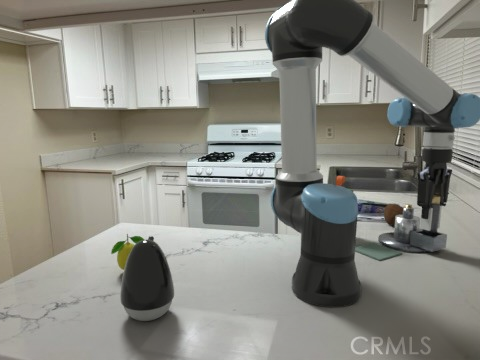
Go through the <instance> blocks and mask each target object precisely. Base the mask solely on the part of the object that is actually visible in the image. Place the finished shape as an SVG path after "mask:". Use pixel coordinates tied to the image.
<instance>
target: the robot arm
mask: <svg viewBox="0 0 480 360" xmlns="http://www.w3.org/2000/svg"><path fill="white" fill-rule="evenodd" d="M264 41H265V44H266V47H267V49H268V50H269V51H270V53H271V54H272V55H271V57H272V65H273V66H274V68H275V69H277V71H278V73H279V74H278V77H279V103H280V105H279V108H280V112H279V113H280V140H281V141H280V142H281V143H280V147H281V170H280V172H279V173H278V174H277V175H276V177H275V186H274V188H273V189H272V191H271V195H270V207H271V210H272V212H273V214H274V215H275V217H276V218H277V219H278V220H279V221H280V222H282V223H283V224H284V225H285V226H288V227H290V228H291V229H292V230H294V231H296V232H297V233H299V234H300V255H299V259H298V262H297V264H296V268H295V272H294V273H293V274H292V278H291V291H292V293H293V294H294V295H295V296H296V297H297V298H299V299H300V300H302V301H304V302H307V303H308V304H313V305H315V306H320V307H326V308H327V307H329V308H341V307H342V308H343V307H347V306H350V305H354V304H355V303H357V302H359V300H360V299H361V296H362V283H361V280H360V279H359V274H358V271H357V270H358V269H357V266H356V262H355V255H356V252H355V247H356V240H357V238H356V237H357V226H358V215H359V206H358V198H357V195H356V193H355V192H352V191H351V190H352V189H351V190H349V189H350V188H346V187H345V186H343V185H342V186H335V185H336V184H335V185H334V184H332V183H325V182H324V175H323V174H322V173H321V172H320V171H319V170H318V167H317V164H318V163H317V154H318V153H317V74H316V73H317V67H318V66H319V65H320V64H321V63H322V62H323V48H324V49H329V50H331V51H333V52H334V53H336V54H337V55H338V56H340V57H344V56H348V57H350V58H351V59H353V60H354V61H355V62H357V64H360V65H361V66H362V67H364V68H365V69H366V70H367V71H369V72H370V73H371V74H373V75H374V76H375V77H377V78H378V79H379V80H381V81H382V82H384V83H385V84H386V85H388V86H389V87H390V88H391V89H393V90H394V91H395V92H397V93H398V94H400V95H401V97H397V98H394V99H393V100H391V102H390V103H389V105H388V108H387V112H386V113H387V114H386V116H387V120H388V122H389V124H390V125H392V126H394V127H400V128H406V127H407V128H408V127H413V128H414V127H415V128H420V127H421V128H423V138H422V146H423V147H424V148H422V151H421V161H423V162H425V164H424V168H423V170H422V171H418V172H417V178H418V179H417V181H418V182H417V197H416V204H417V206H418V207H421V215H420V229H424V230H428V231H430V230H431V222H432V212H433V208H431V204H432V199H433V195H437V196H440V209H439V219H438V229H440V227H441V217H442V207H446V206H447V202H448V199H449V197H448V196H449V189H450V181H451V176H452V174H453V169H450V168H448V165H447V164H449V163H452V161H453V149H452V147H454V142H455V141H454V140H455V139H456V137H455V132H456V130H455V129H459V128H460V129H461V128H464V129H465V128H470V127H474V126H475V125H477V124H478V122H479V121H480V96H479V95H477V94H474V93H465V92H464V93H459V92H458V91H457V90H455V89H454V88H453V87H451V86H450V85H449V84H448V83H447V82H446V81H444V80H443V79H442V78H441V77H440V76H439V75H437V74H436V73H435V72H433V70H432V69H430V68H429V67H427V66H426V65H425V64H424V63H423V62H421V61H420V59H418V58H417V57H416V56H414V55H413V54H412V53H410V52H409V50H407V49H406V48H404V47H403V46H402V45H401V44H400V43H399V42H397V41H396V40H395V39H394V38H392V37H391V36H390V35H389V34H387V33H386V32H385V31H384V30H383V29H382V28H381V27H380V26H378V25H377V24H376V23H375V17H374V14H373V13H372V12H370V11H369V10H368V9H367V8H366V7H365V6H363V5H362V4H361V3H359V2H358V1H356V0H289V1H288V2H286V3H284V4H282V5H281V6H279V7H278V8H276V10H275V11H274V12H273V14H272V15H271V16H270V17H269V19H268V20H267V23H266V26H265V30H264Z"/></svg>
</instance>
